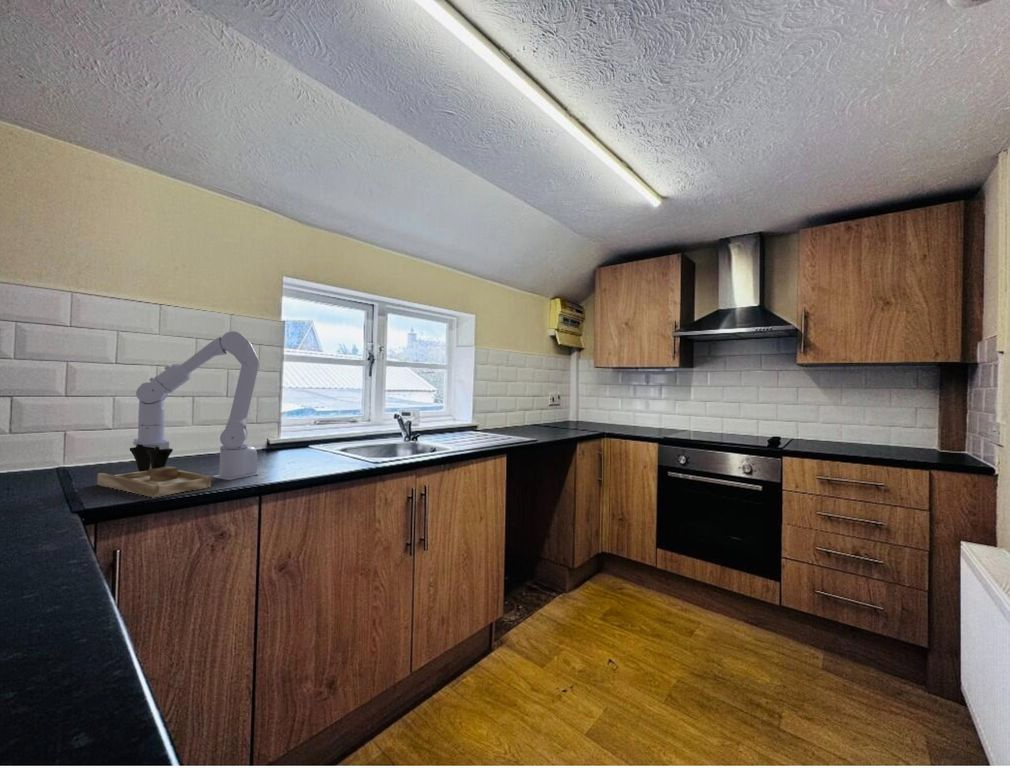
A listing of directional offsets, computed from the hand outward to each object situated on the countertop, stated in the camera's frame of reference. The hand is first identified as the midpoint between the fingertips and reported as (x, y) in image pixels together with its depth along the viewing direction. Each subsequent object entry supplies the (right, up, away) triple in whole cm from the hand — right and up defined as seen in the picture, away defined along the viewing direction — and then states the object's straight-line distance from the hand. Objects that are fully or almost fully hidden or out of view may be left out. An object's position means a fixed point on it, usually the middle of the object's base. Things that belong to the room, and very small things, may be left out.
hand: (150, 472), depth 122 cm
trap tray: (+5, -3, -4) cm, 7 cm away
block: (+6, -1, -3) cm, 7 cm away
